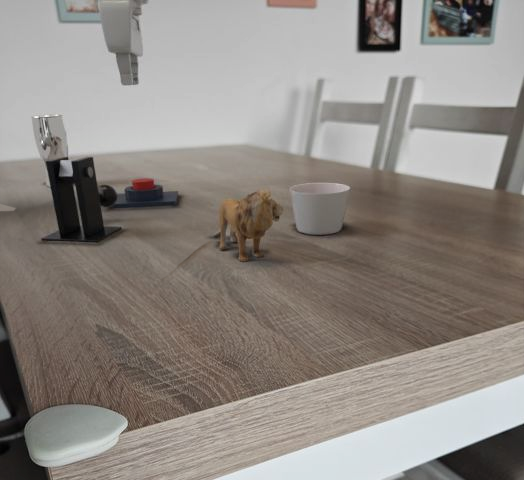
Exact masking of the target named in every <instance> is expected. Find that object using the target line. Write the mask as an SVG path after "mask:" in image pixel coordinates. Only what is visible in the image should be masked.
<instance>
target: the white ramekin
mask: <svg viewBox="0 0 524 480" xmlns="http://www.w3.org/2000/svg"><path fill="white" fill-rule="evenodd" d="M350 192H351V186H349V185H347V184H344V183H343V184H342V183H335V182H307V183H301V184H295V185H292V186H290V187H289V194H290V200H291V205H292V210H293V211H292V212H293V217H294V222H295V227H296V230H297V232H299V233H302V234H305V235H312V236H313V235H314V236H324V235H332V234H333V235H334V234H336V233H339V232H340V231H341V230H342V228H343V225H344V224H343V223H344V219H345V214H346V211H347V205H348V201H349V196H350Z"/></svg>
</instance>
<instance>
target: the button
mask: <svg viewBox="0 0 524 480" xmlns="http://www.w3.org/2000/svg"><path fill="white" fill-rule="evenodd" d="M131 184H132V185H131V186H133V190H147V189H153V188H155V187H154V184H155V179H154V178H149V177H147V178H146V177H144V178H136V179H135V178H134V179H133V180H131Z"/></svg>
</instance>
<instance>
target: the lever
mask: <svg viewBox="0 0 524 480" xmlns="http://www.w3.org/2000/svg"><path fill="white" fill-rule="evenodd" d="M74 160H75V159H69V160H61V162H60V170H59V177H61V178H62V179H64V180H65V181H67V182H68V183H71V184H73V185H75V181H74V175H73V169H72V164H71V161H74ZM97 186H98V192H99V199H100V205H101V208H105V209H106V208H109V207H111V206H113V205H114V204H115V203H116V201H117V194H118V192H117V191H116V189H115V188H114V186H111V185H109V184H106V183H105V184H100V185H98V184H97Z"/></svg>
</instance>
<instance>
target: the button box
mask: <svg viewBox="0 0 524 480" xmlns="http://www.w3.org/2000/svg"><path fill="white" fill-rule="evenodd" d="M154 187H155V188H153V189H147V190H133V186H132V185H130V186H126V187H125V188H124V193H123V192H122V193H117V201H116V203H115V204H114V205H113V206H111V207H108V209H109V210H112V209H113V210H114V209H135V208H153V207H154V208H155V207H156V208H157V207H177V203H178V199H179V195H180V193H179V191H178V190H171V191H170V190H169V191H164V187H163V185H161V184H155V183H154Z"/></svg>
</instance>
